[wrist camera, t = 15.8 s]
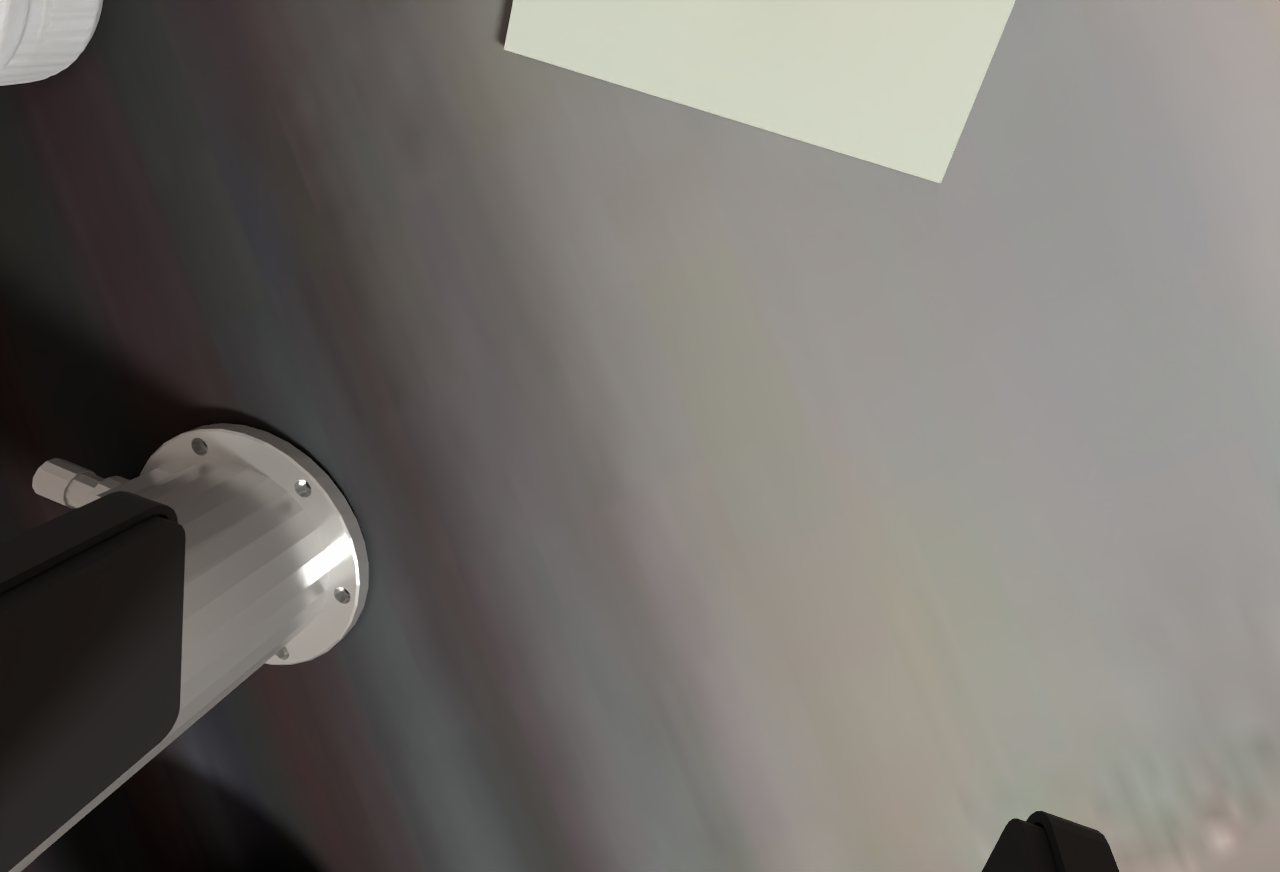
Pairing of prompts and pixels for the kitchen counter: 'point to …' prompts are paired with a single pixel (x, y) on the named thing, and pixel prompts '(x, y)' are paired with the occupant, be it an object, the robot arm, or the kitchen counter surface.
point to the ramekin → (43, 36)
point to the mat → (789, 64)
